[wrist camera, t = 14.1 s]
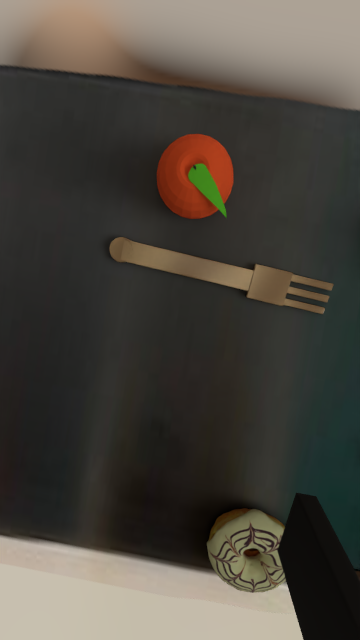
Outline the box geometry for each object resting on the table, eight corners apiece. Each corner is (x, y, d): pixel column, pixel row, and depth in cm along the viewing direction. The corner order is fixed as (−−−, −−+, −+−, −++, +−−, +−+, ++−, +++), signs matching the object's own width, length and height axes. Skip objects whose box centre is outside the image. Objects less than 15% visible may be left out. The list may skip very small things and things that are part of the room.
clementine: (249, 199, 31) (265, 184, 24) (196, 244, 32) (196, 242, 25) (199, 133, 29) (201, 96, 22) (146, 182, 31) (132, 161, 24)
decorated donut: (250, 486, 38) (256, 511, 34) (307, 538, 39) (318, 567, 35) (191, 533, 40) (191, 561, 36) (247, 580, 41) (253, 613, 37)
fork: (108, 263, 33) (106, 263, 32) (114, 230, 32) (112, 229, 31) (320, 314, 33) (323, 315, 32) (331, 282, 32) (334, 282, 31)
